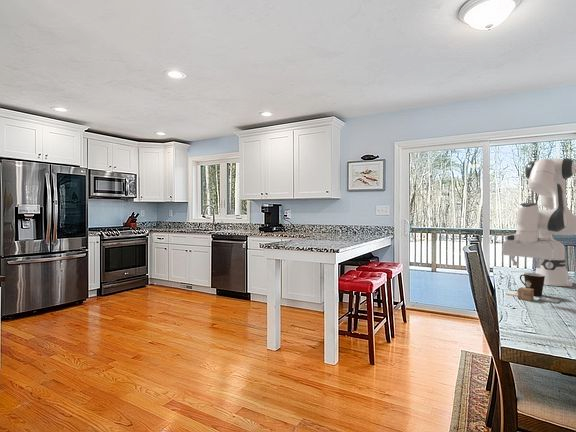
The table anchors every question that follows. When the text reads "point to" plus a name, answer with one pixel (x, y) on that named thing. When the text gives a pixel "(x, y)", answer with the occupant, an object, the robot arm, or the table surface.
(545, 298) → the tile
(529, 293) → the letter cube
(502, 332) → the table surface
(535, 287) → the coffee mug
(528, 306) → the table surface
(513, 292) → the tile
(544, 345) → the table surface
